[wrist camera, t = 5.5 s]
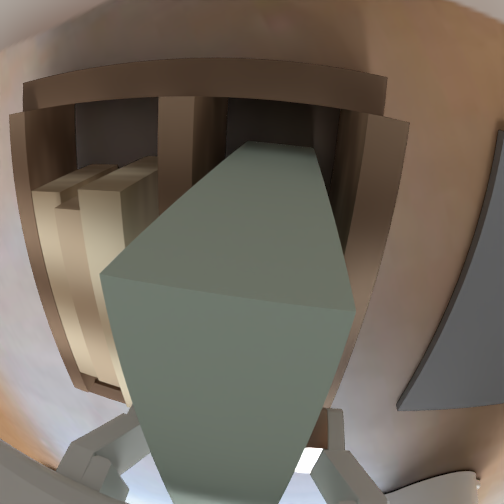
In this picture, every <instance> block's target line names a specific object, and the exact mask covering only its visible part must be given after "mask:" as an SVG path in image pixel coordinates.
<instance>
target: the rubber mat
mask: <svg viewBox="0 0 504 504" xmlns="http://www.w3.org/2000/svg"><path fill="white" fill-rule="evenodd" d="M501 403H504V131H501V130H499V131H498V137H497V143H496V149H495V155H494V160H493V165H492V170H491V174H490V179H489V183H488V187H487V192H486V196H485V199H484V203H483V207H482V211H481V214H480V218H479V221H478V225H477V228H476V231H475V234H474V238H473V241H472V244H471V247H470V250H469V253H468V256H467V258H466V261H465V264H464V267H463V270H462V272H461V275H460V277H459V280H458V283H457V285H456V288H455V290H454V293H453V295H452V297H451V300H450V302H449V305H448V307H447V309H446V311H445V314H444V316H443V318H442V320H441V323H440V325H439V327H438V329H437V331H436V333H435V335H434V337H433V339H432V341H431V343H430V345H429V347H428V349H427V351H426V353H425V355H424V357H423V359H422V361H421V363H420V365H419V367H418V368H417V370H416V372H415V374H414V376H413V377H412V379H411V381H410V383H409V384H408V386H407V388H406V390H405V391H404V393H403V395H402V396H401V398H400V400H399V401H398V403H397V405H396V406H397V411H420V410H441V409H456V408H467V407H477V406H486V405H494V404H501Z"/></svg>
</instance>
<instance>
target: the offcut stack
mask: <svg viewBox="0 0 504 504" xmlns="http://www.w3.org/2000/svg"><path fill="white" fill-rule="evenodd" d="M32 198H33V205H34V211H35V217H36V223H37V228H38V233H39V238H40V243H41V248H42V252H43V257H44V261H45V265H46V269H47V273H48V277H49V281H50V285H51V288H52V292H53V295H54V299H55V302H56V305H57V309H58V312H59V315H60V318H61V321H62V324H63V327H64V330H65V333H66V336H67V339H68V342H69V345H70V347H71V350H72V353H73V355H74V358H75V360H76V363H77V366H78V368H79V370H80V372H82V373H85V374H88V375H91V376H94V377H97V378H98V380H99V381H102V382H105V383H108V384H111V385H114V386H117V387H120V388H121V391H122V394H123V397H124V400H125V402H126V405H127V407H131V405H132V400H131V397H130V394H129V391H128V388H127V385H126V381H125V378H124V375H123V371H122V368H121V364H120V361H119V357H118V354H117V350H116V346H115V342H114V339H113V335H112V331H111V327H110V322H109V318H108V314H107V309H106V305H105V300H104V295H103V290H102V285H101V280H100V275H99V274H100V273H101V272H102V271H103V270H104V269H105V268H106V267H107V266H108V265H109V264H110V263H111V262H112V261H113V260H114V259H115V258H116V257H117V256H118V255H119V254H120V253H121V252H122V251H123V250H124V249H125V248H126V247H127V246H128V245H129V244H130V243H131V242H132V241H133V240H134V239H135V238H136V237H137V236H138V235H140V234H141V233H142V232H143V231H144V230H145V229H146V228H147V227H148V226H149V225H150V224H151V223H152V222H153V221H155V220H156V219H157V218H158V217H159V205H158V156H146V157H144V158H142V159H139V160H137V161H135V162H133V163H130V164H128V165H126V166H124V167H122V168H120V169H118V165H117V164H90V165H88V166H85V167H83V168H81V169H78V170H76V171H74V172H71V173H69V174H67V175H65V176H62V177H60V178H58V179H56V180H54V181H51V182H49V183H47V184H45V185H43V186H41V187H39V188H37V189H35V190H33V191H32Z"/></svg>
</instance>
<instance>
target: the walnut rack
mask: <svg viewBox="0 0 504 504" xmlns="http://www.w3.org/2000/svg"><path fill="white" fill-rule="evenodd" d="M386 87H387V77H384V76H379V75H375V74H370V73H365V72H360V71H354V70H349V69H343V68H337V67H330V66H323V65H316V64H308V63H299V62H289V61H278V60H265V59H245V58H184V59H165V60H151V61H140V62H131V63H122V64H114V65H107V66H101V67H94V68H88V69H83V70H77V71H72V72H67V73H62V74H58V75H53V76H49V77H45V78H41V79H37V80H33V81H29V82H25V83H23V112H20V113H15V114H11V115H9V123H10V141H11V154H12V165H13V174H14V182H15V189H16V196H17V202H18V208H19V214H20V219H21V224H22V229H23V234H24V239H25V243H26V248H27V252H28V256H29V260H30V264H31V268H32V272H33V275H34V279H35V282H36V286H37V289H38V292H39V296H40V299H41V302H42V305H43V308H44V311H45V314H46V317H47V320H48V323H49V326H50V329H51V331H52V334H53V337H54V339H55V342H56V344H57V347H58V350H59V352H60V355H61V357H62V359H63V362H64V364H65V366H66V369H67V371H68V373H69V376H70V378H71V380H72V382H73V384H74V387H75V388H78V389H81V390H83V391H86V392H92V393H95V394H98V395H100V396H103V397H106V398H109V399H112V400H115V401H119V402H122V403H125V404H126V402H125V400H124V397H123V394H122V391H121V388H120V387H117V386H114V385H111V384H108V383H105V382H102V381H99V380H98V378H97V377H94V376H91V375H88V374H85V373H82V372H80V370H79V368H78V366H77V363H76V360H75V358H74V355H73V353H72V350H71V347H70V345H69V342H68V339H67V336H66V333H65V330H64V327H63V324H62V321H61V318H60V315H59V312H58V309H57V305H56V302H55V299H54V295H53V292H52V288H51V285H50V281H49V277H48V273H47V269H46V265H45V261H44V257H43V252H42V248H41V243H40V238H39V233H38V228H37V223H36V217H35V211H34V205H33V198H32V191H33V190H35V189H37V188H39V187H41V186H43V185H45V184H47V183H49V182H51V181H54V180H56V179H58V178H60V177H62V176H65V175H67V174H69V173H71V172H74V171H76V170H77V159H76V140H75V103H83V102H92V101H101V100H113V99H126V98H143V97H159V100H158V205H159V216H160V215H161V214H162V213H163V212H164V211H165V210H167V209H168V208H169V207H170V206H171V205H172V204H173V203H174V202H175V201H177V200H178V199H179V198H180V197H181V196H182V195H183V194H185V193H186V192H187V191H188V190H189V189H190V188H191V187H193V186H194V185H195V184H196V183H197V182H198V181H200V180H201V179H202V178H203V177H204V176H205V175H207V174H208V173H209V172H210V171H211V170H213V169H214V168H215V167H216V166H217V165H219V164H220V163H221V162H222V161H223V160H225V148H226V130H227V114H228V98H229V97H234V98H252V99H265V100H277V101H287V102H296V103H305V104H313V105H320V106H327V107H334V108H340V118H339V127H338V135H337V143H336V151H335V158H334V165H333V173H332V180H331V186H330V193H329V201H330V205H331V209H332V212H333V216H334V220H335V223H336V227H337V231H338V235H339V239H340V243H341V247H342V251H343V255H344V259H345V263H346V268H347V272H348V276H349V281H350V285H351V290H352V294H353V299H354V304H355V308H356V314H355V317H354V320H353V323H352V327H351V330H350V333H349V336H348V339H347V342H346V345H345V348H344V351H343V354H342V356H341V359H340V362H339V365H338V368H337V371H336V373H335V376H334V379H333V381H332V384H331V387H330V389H329V392H328V395H327V397H326V400H325V402H324V405H323V407H324V408H330V407H331V405H332V402H333V400H334V397H335V395H336V393H337V390H338V388H339V385H340V383H341V380H342V378H343V375H344V373H345V370H346V367H347V365H348V362H349V359H350V357H351V354H352V351H353V349H354V346H355V343H356V340H357V337H358V334H359V332H360V329H361V326H362V323H363V320H364V317H365V314H366V311H367V307H368V304H369V301H370V298H371V295H372V291H373V288H374V285H375V281H376V278H377V274H378V271H379V267H380V264H381V260H382V256H383V253H384V249H385V245H386V241H387V237H388V233H389V229H390V225H391V221H392V216H393V212H394V208H395V203H396V198H397V194H398V189H399V184H400V179H401V174H402V168H403V163H404V157H405V151H406V145H407V139H408V132H409V125H410V123H409V122H405V121H401V120H397V119H392V118H388V117H383V114H384V106H385V97H386ZM174 96H175V97H174Z"/></svg>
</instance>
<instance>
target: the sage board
mask: <svg viewBox="0 0 504 504" xmlns="http://www.w3.org/2000/svg"><path fill="white" fill-rule="evenodd" d="M99 275H100V280H101V285H102V290H103V295H104V300H105V305H106V309H107V314H108V318H109V322H110V327H111V331H112V335H113V339H114V342H115V346H116V350H117V354H118V357H119V361H120V364H121V368H122V371H123V375H124V378H125V381H126V385H127V388H128V391H129V394H130V397H131V400H132V403H133V406H134V409H135V412H136V415H137V418H138V420H139V423H140V426H141V429H142V431H143V434H144V437H145V439H146V442H147V444H148V447H149V449H150V452H151V454H152V457H153V459H154V462H155V464H156V466H157V469H158V471H159V473H160V476H161V478H162V480H163V482H164V485H165V487H166V489H167V491H168V493H169V495H170V497H171V500H172V502H173V504H278V503H279V501H280V499H281V497H282V495H283V494H284V492H285V490H286V488H287V486H288V484H289V482H290V479H291V477H292V475H293V473H294V471H295V469H296V467H297V465H298V463H299V461H300V458H301V456H302V454H303V452H304V450H305V447H306V445H307V443H308V441H309V438H310V436H311V434H312V431H313V429H314V427H315V424H316V422H317V420H318V417H319V415H320V412H321V410H322V407H323V405H324V402H325V400H326V397H327V395H328V392H329V389H330V387H331V384H332V381H333V379H334V376H335V373H336V371H337V368H338V365H339V362H340V359H341V356H342V354H343V351H344V348H345V345H346V342H347V339H348V336H349V333H350V330H351V327H352V323H353V320H354V317H355V314H356V308H355V304H354V299H353V294H352V290H351V285H350V281H349V276H348V272H347V268H346V263H345V259H344V255H343V251H342V247H341V243H340V239H339V235H338V231H337V227H336V223H335V220H334V216H333V212H332V209H331V205H330V201H329V198H328V194H327V191H326V187H325V184H324V180H323V177H322V174H321V170H320V167H319V164H318V161H317V157H316V154H315V151H314V148H310V147H302V146H294V145H285V144H276V143H266V142H255V141H247V142H246V143H244V144H243V145H242V146H241V147H239V148H238V149H237V150H236V151H234V152H233V153H232V154H231V155H229V156H228V157H227V158H226V159H225V160H223V161H222V162H221V163H220V164H219V165H217V166H216V167H215V168H214V169H213V170H211V171H210V172H209V173H208V174H207V175H205V176H204V177H203V178H202V179H201V180H200V181H198V182H197V183H196V184H195V185H194V186H193V187H191V188H190V189H189V190H188V191H187V192H186V193H185V194H183V195H182V196H181V197H180V198H179V199H178V200H177V201H175V202H174V203H173V204H172V205H171V206H170V207H169V208H168V209H167V210H165V211H164V212H163V213H162V214H161V215H160V216H159V217H158V218H157V219H156V220H155V221H153V222H152V223H151V224H150V225H149V226H148V227H147V228H146V229H145V230H144V231H143V232H142V233H141V234H140V235H138V236H137V237H136V238H135V239H134V240H133V241H132V242H131V243H130V244H129V245H128V246H127V247H126V248H125V249H124V250H123V251H122V252H121V253H120V254H119V255H118V256H117V257H116V258H115V259H114V260H113V261H112V262H111V263H110V264H109V265H108V266H107V267H106V268H105V269H104V270H103V271H102V272H101V273H100V274H99Z"/></svg>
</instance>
